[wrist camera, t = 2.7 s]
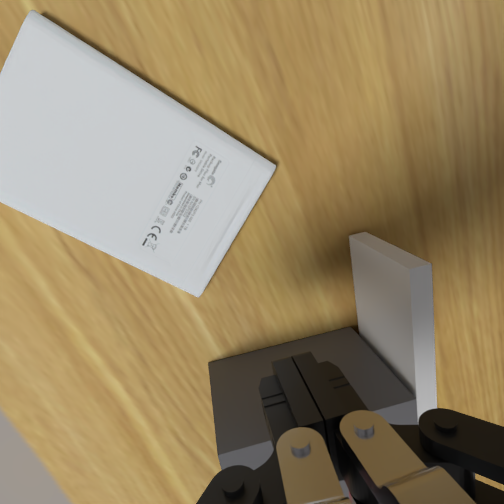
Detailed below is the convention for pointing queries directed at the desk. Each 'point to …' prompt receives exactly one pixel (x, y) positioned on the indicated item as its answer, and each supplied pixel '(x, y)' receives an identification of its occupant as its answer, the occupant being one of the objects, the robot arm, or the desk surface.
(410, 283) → the door
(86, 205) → the external hard drive
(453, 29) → the desk surface
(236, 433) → the camera body
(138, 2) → the desk surface
